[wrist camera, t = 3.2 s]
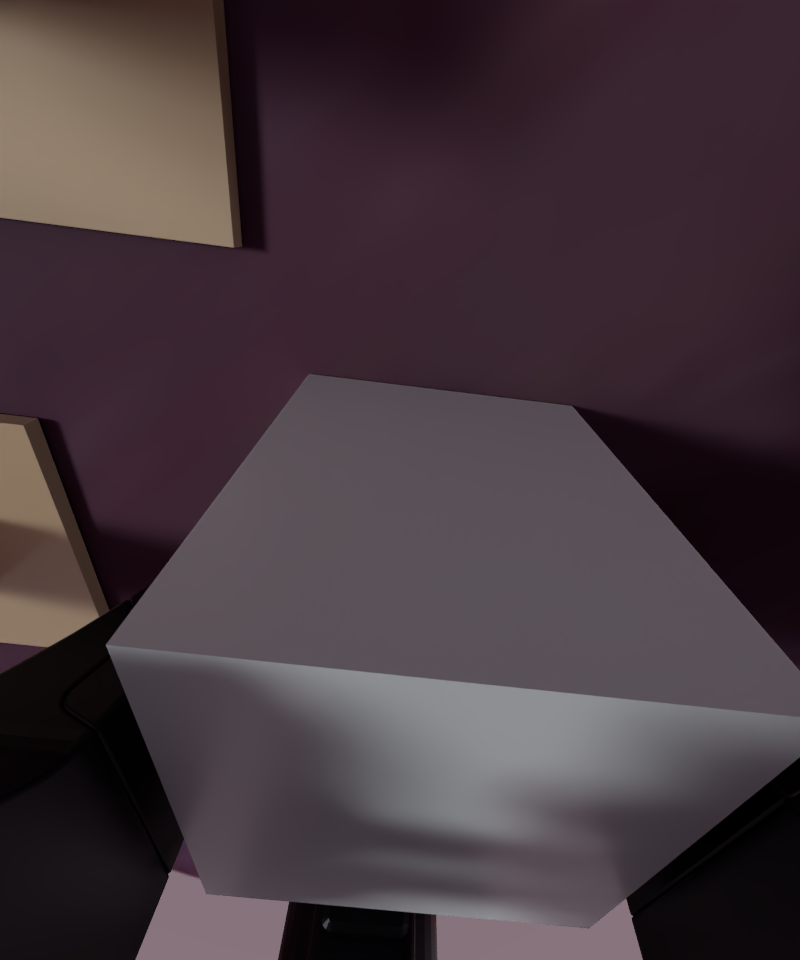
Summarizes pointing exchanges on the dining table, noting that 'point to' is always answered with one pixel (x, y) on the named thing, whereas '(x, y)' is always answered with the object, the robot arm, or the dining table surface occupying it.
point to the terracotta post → (40, 545)
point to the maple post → (118, 118)
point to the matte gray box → (447, 666)
